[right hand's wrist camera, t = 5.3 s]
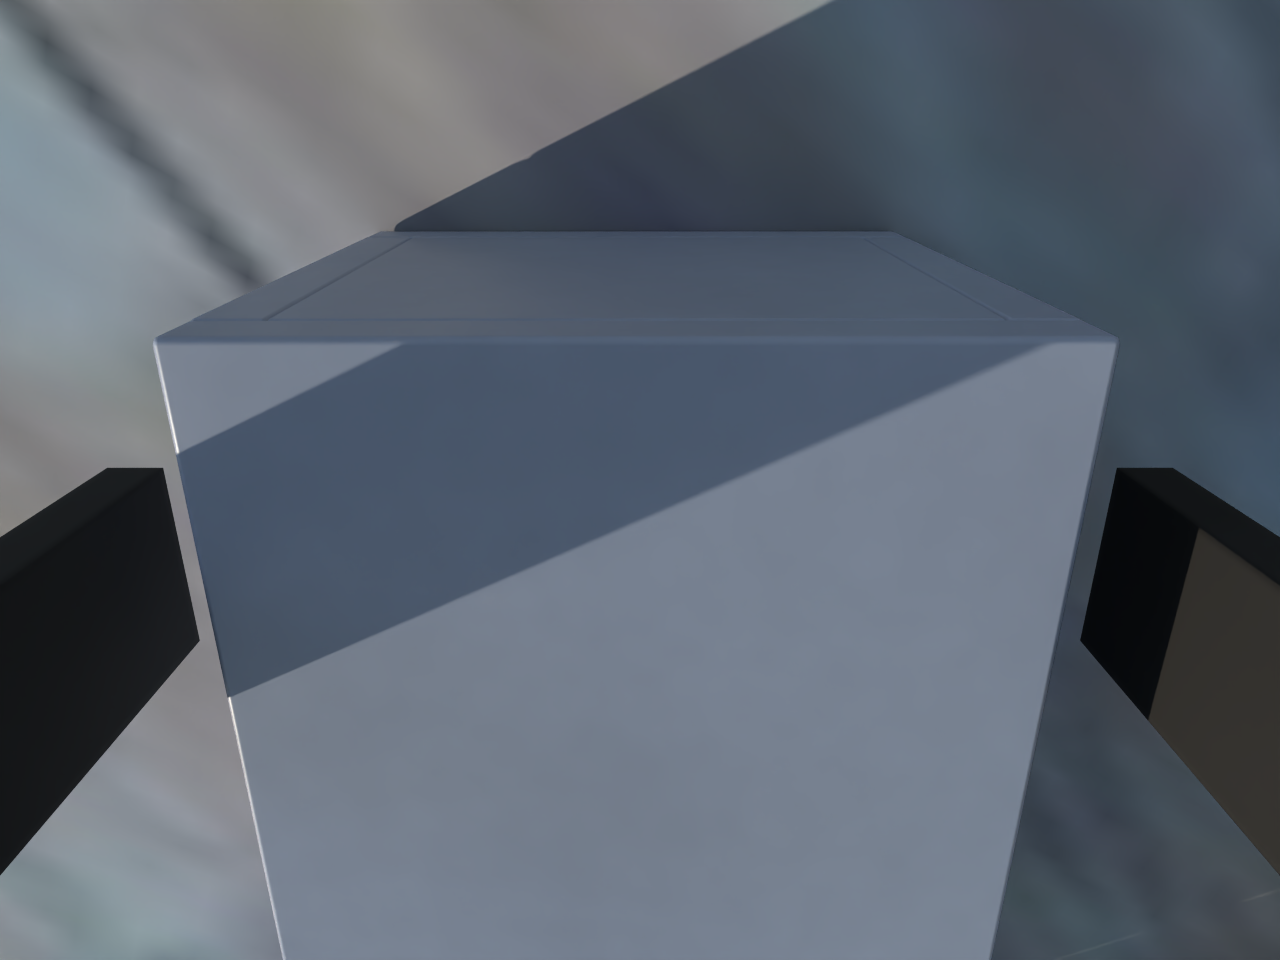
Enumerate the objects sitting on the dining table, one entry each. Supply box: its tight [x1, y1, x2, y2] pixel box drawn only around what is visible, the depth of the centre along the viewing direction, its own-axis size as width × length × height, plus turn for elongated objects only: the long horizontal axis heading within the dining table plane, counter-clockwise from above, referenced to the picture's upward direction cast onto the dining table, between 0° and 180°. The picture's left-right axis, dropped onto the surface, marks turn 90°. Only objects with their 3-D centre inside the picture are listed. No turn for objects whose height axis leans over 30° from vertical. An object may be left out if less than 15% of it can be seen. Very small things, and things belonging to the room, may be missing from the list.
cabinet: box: [153, 231, 1120, 960], centre depth 16 cm, size 20×10×8 cm, turn 0°
